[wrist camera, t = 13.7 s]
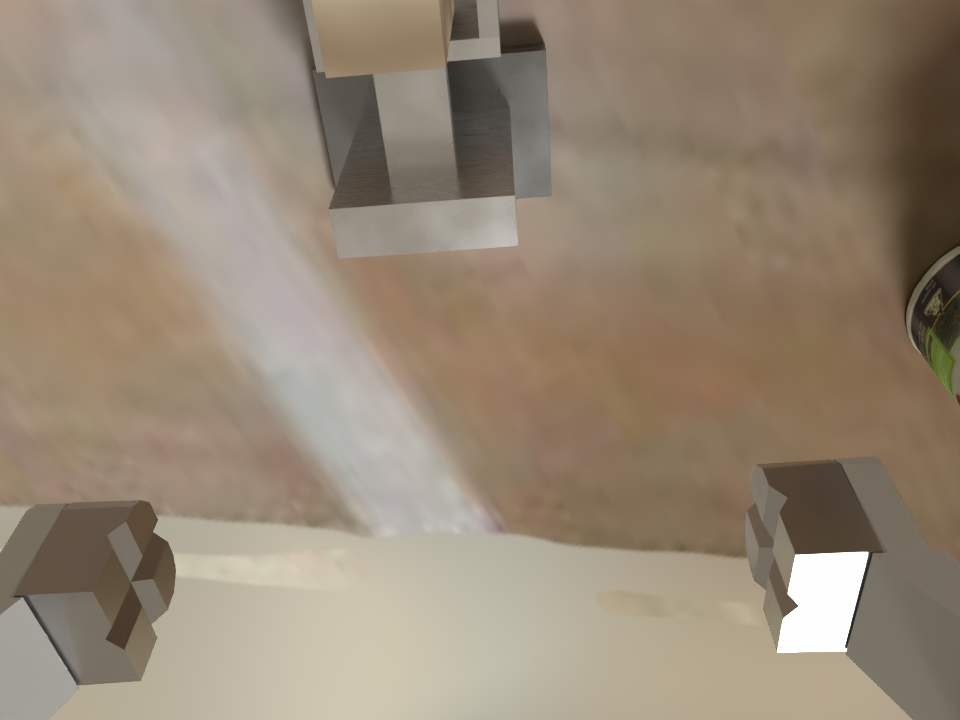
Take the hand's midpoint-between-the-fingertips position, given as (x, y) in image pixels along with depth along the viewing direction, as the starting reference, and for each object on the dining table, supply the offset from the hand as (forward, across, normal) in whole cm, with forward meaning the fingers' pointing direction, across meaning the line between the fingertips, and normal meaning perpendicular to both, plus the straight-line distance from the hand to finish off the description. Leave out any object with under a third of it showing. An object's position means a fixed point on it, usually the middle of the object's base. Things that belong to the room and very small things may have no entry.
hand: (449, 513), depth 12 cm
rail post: (+32, +3, -2) cm, 32 cm away
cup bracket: (+37, +3, +3) cm, 37 cm away
